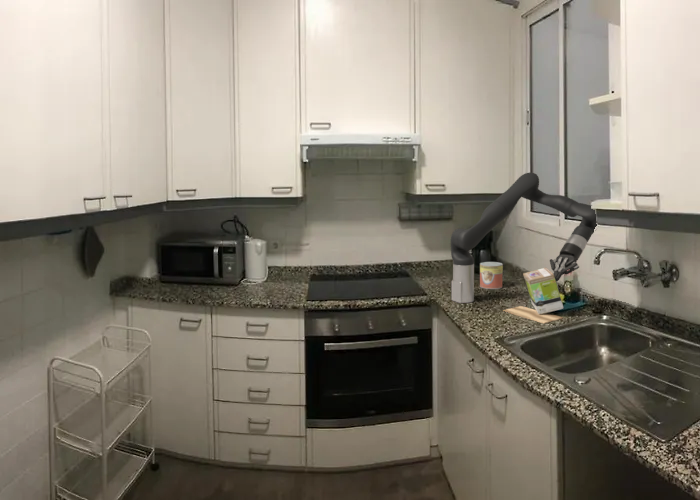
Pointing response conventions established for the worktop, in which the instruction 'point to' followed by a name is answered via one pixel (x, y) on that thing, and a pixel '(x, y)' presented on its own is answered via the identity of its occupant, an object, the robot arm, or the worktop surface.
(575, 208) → the robot arm
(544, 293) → the tea box
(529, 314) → the wooden cutting board
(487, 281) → the canned food
